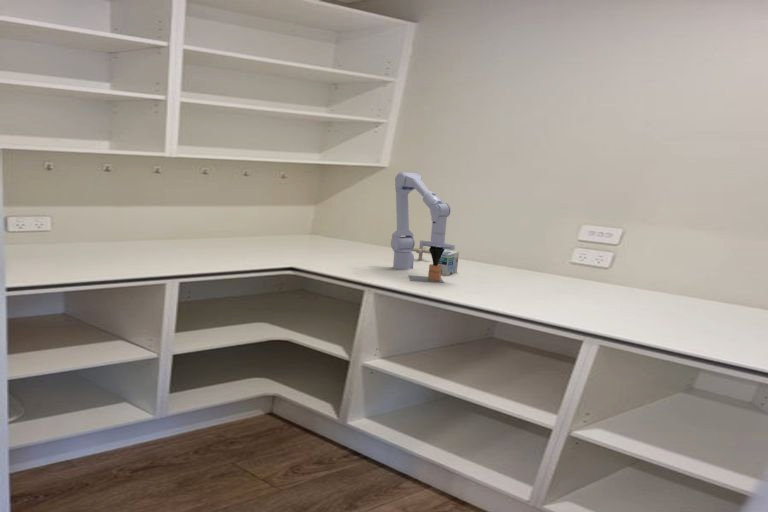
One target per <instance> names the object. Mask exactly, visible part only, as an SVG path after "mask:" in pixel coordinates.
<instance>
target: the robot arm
mask: <svg viewBox="0 0 768 512" xmlns="http://www.w3.org/2000/svg"><path fill="white" fill-rule="evenodd" d="M422 178H423V177H422V176H421V175H420V173H418V172H403V171H399V172H398V173H397V174H396V175H395V177H394V182H395V184H394V185H395V189H394V190H395V207H396V230H395V231H394V232H393V233H392V234H391V241H390V246H391V247H390V248H391V249H392V251H393V262H392V263H393V265H392V268H393V269H395V270H400V271H407V270H409V269H414V263H415V262H414V261H415V260H414V259H415V255H414V253H413V251H412V249H413V248H415V245H416V243H415V242H416V241H415V238H414V233H413V232H412V231H411V230H410V224H409V223H410V219H409V194H410V193H411V192H412V191H414V190H416V191H417V192H418V194H419V195H420V196H422V202H423V203H424V204H425V206H427V208H429V212H430V216H431V219H430V220H431V235H430V240H429V241H426V240H423V241H421V242H420V241H419V247H420V246H423V247H429V248H428V250H429V251H430V253H429V254H430V255H431V259H432V264H433V265H438V263H439V260H440V257H441V255H442V253H443V252H444V250H450V251H455V248H456V247H455V246H456V245H454V244H450V243H446V230H447V219H448V217H449V216H450V214H451V206H450V205H449V203H447V202H444V201H443V200H441V199H440V198H439V196H438V195H437V193H436V192H435V191H430V190H429V189H428V188H427V186H426V184H425V183H424V182H423V181H422V180H423V179H422Z"/></svg>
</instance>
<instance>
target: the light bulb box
mask: <svg viewBox="0 0 768 512" xmlns="http://www.w3.org/2000/svg"><path fill="white" fill-rule="evenodd" d="M459 256H460V252H459V251H455V250H448V249H445V250H444V252H443V253H442V255H441V257H440V260H439V263H438V265H441V276H444V277H445V276H446V277H448V276H451V275H455V274H456V273H457V274H458V266H459Z"/></svg>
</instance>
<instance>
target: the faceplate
mask: <svg viewBox="0 0 768 512" xmlns="http://www.w3.org/2000/svg"><path fill="white" fill-rule="evenodd" d="M408 278H409V281H410V282H422V283H436V284H437V283H439V284H445V281H444V280H443V278H442V277H441V278H440V280H439V281H432V280H429V279H428V275H427V276H426V275H423V276H422V275H411V274H410V275H408Z"/></svg>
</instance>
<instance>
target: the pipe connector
mask: <svg viewBox="0 0 768 512" xmlns="http://www.w3.org/2000/svg"><path fill="white" fill-rule="evenodd" d="M421 241H424V240H419V243H420V242H421ZM412 252H415V253H417V254H418V261H423V253H425V254H431V253H430V251H429V249H426V246H420V245H419V246H418V247H414V248H413V249H412Z"/></svg>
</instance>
